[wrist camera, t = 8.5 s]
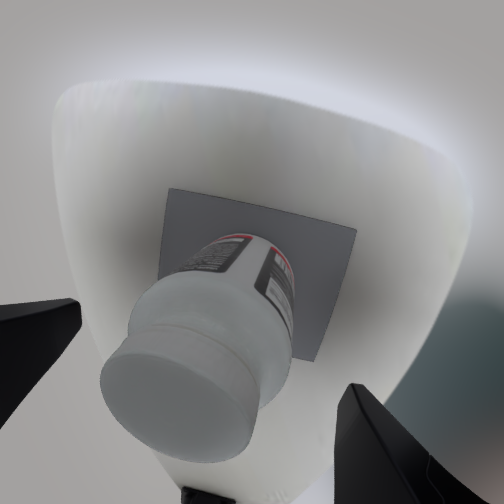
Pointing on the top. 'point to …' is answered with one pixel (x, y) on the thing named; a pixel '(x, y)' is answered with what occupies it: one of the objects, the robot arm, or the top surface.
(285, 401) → the top surface
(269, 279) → the pill bottle
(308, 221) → the slate mat
